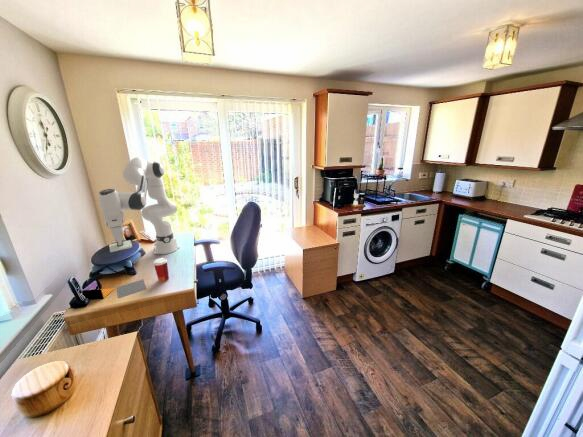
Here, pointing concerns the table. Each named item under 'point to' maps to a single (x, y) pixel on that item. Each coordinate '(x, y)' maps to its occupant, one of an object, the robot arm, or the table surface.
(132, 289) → the mat
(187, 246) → the table surface
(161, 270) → the paper cup
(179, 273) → the table surface
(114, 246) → the lid
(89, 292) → the miniature room corner
